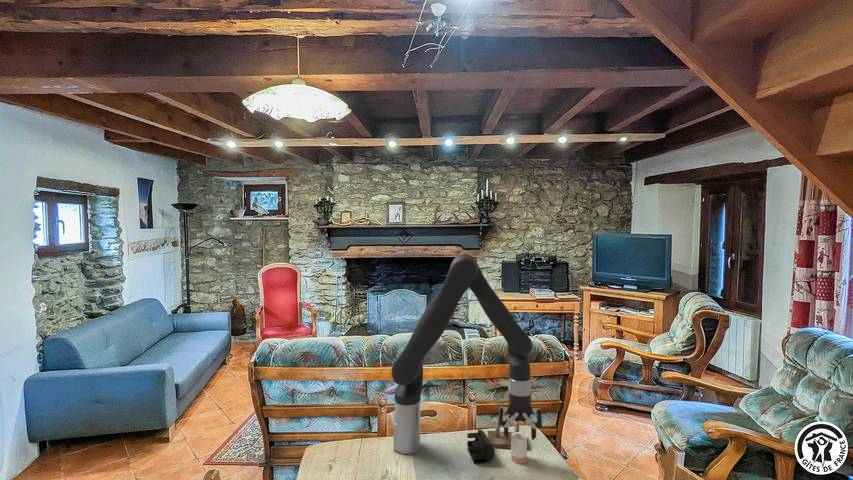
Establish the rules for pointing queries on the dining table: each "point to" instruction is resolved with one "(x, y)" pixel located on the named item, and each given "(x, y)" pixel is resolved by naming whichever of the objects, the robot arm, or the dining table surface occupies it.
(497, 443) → the pin board
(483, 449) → the end cap
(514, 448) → the sleeve
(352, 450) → the dining table surface
